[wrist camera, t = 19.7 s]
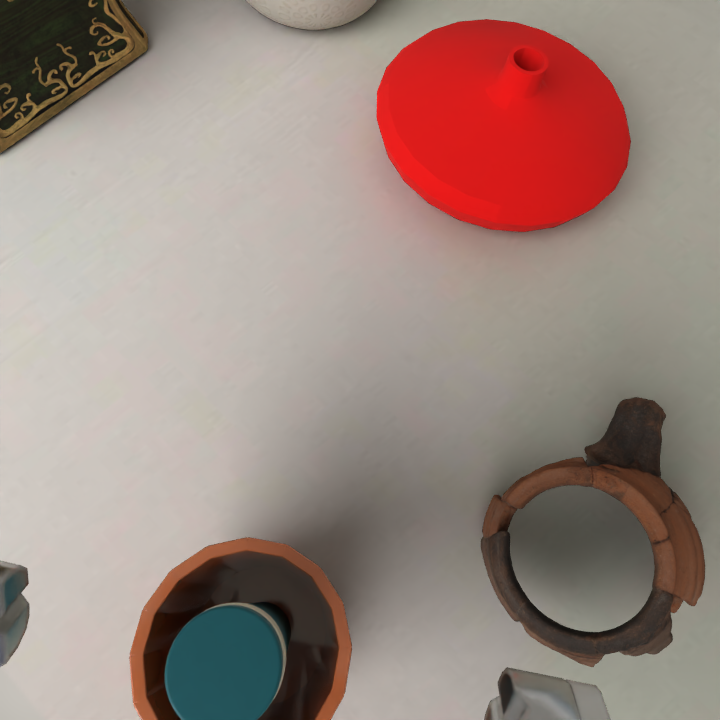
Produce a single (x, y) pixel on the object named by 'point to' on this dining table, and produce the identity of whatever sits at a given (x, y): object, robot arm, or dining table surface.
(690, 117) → the dining table surface
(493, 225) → the red disc with nozzle
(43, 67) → the decorative box
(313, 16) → the planter
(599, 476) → the broken brown pottery vessel
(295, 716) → the tumbler
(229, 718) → the teal banded tube
